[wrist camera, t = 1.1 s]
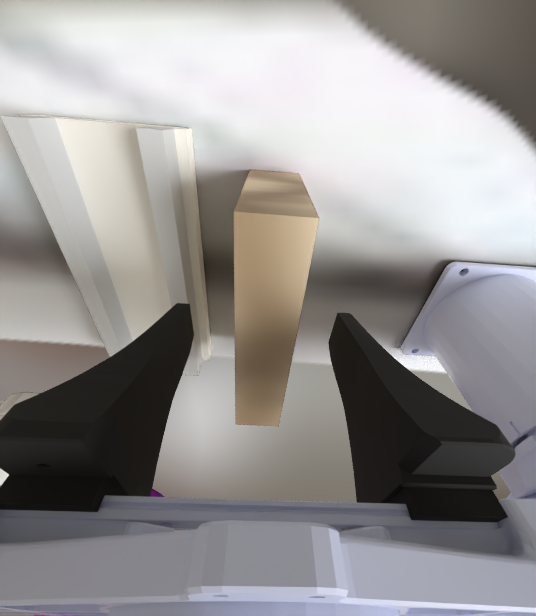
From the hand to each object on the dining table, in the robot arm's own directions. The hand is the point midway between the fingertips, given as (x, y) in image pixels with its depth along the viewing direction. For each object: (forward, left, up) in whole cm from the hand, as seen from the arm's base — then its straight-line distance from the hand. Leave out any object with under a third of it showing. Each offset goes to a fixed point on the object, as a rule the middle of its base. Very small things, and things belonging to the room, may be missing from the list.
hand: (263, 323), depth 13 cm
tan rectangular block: (0, 0, -5) cm, 5 cm away
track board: (+7, 0, -5) cm, 9 cm away
